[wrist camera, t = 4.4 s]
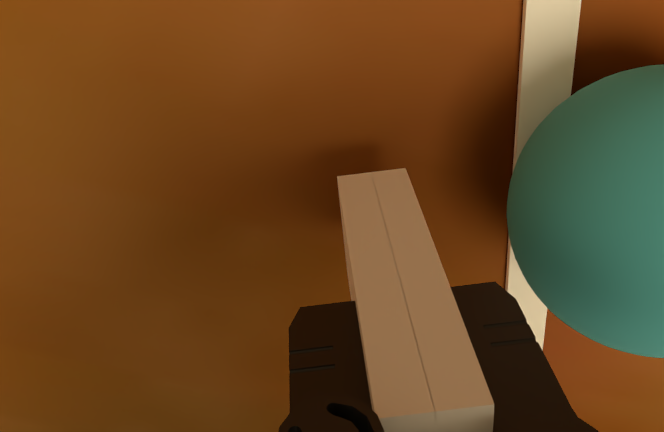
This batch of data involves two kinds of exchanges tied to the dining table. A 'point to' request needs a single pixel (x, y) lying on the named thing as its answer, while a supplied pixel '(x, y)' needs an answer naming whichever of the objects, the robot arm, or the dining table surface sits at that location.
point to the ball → (597, 211)
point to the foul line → (540, 108)
